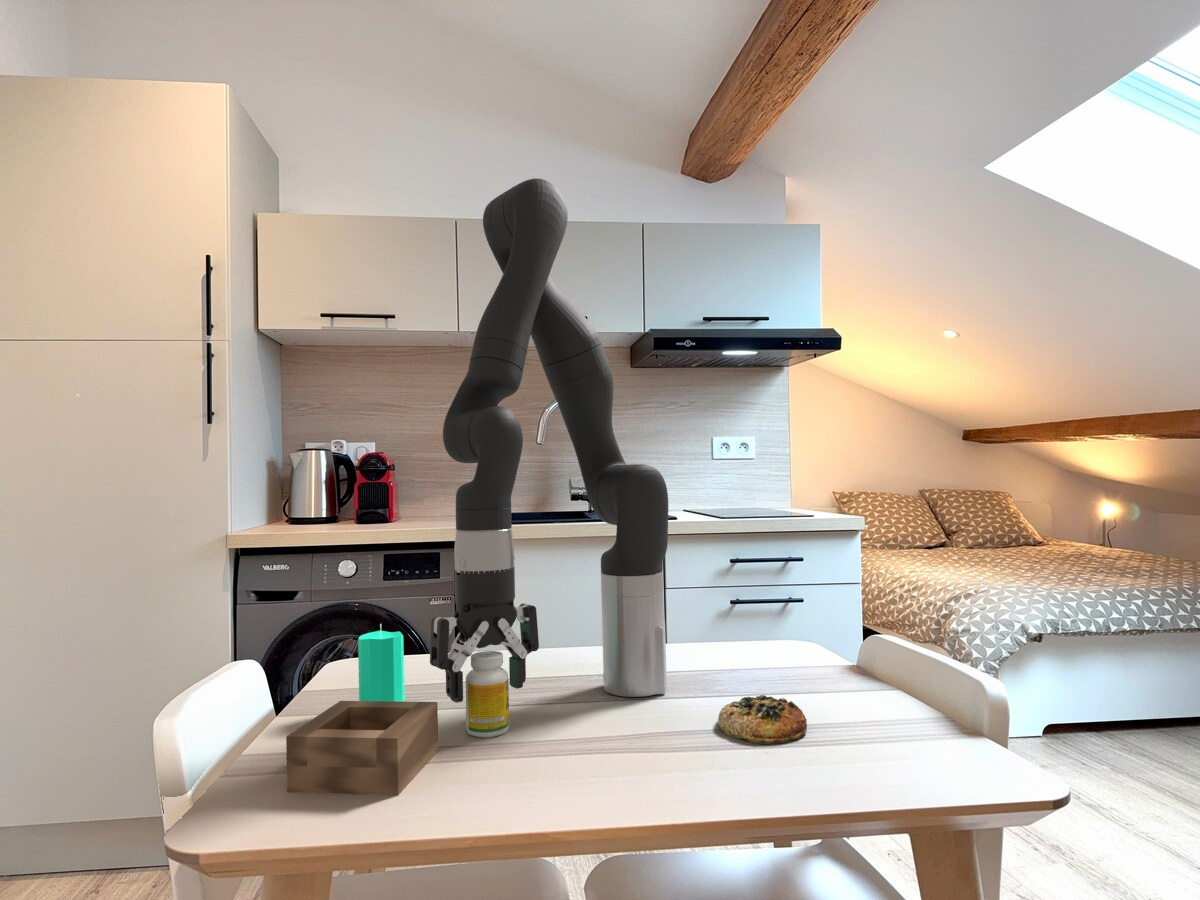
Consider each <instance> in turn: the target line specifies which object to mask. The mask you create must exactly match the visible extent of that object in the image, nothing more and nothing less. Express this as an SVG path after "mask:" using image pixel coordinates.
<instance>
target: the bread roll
mask: <svg viewBox="0 0 1200 900" xmlns="http://www.w3.org/2000/svg"><path fill="white" fill-rule="evenodd" d="M717 722H718V725H719V727H720V729H721V731H723V733H724V734H725V735H727V736H730V737H732V738H735V739H740V740H746V741H748V742H751V743H755V744H763V745H774V744H783V743H788V742H790V741H793V740H797V739H798V740H800V738H802V737H803V736H804V735H805V734H806V732H807V731H808V730H807V729H808V724H807V723H808V722H807V718H806V716H805V714H804V713H803V710H802V709H800V708H799V706H798V705H796V704H795V703H794V702H793V701H792V700H791V701H787V699H786V698H785V697H780V698H778V699H777V698H775V697H772V696H766V695H764V694H761V695H759V696H756V697H754V696H752V697H751V696H744V697H742V698H740V699H739V700H738V701H736V700H735V701H732V702H731V703H727V704H725V705H724V706H723V707H722V708H721V710H720V711H719V713H718V719H717Z"/></svg>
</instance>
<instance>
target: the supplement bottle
mask: <svg viewBox="0 0 1200 900" xmlns="http://www.w3.org/2000/svg"><path fill="white" fill-rule="evenodd" d="M503 657H504V654H503V652H501V651H496V650H484V651H478V652H474V653H472V654H471V655H470V667H471V670H470V671H468V673H467V674H466V675H465V726H466V727H465V729H466V732H467V734H468V735H470V736H472V737H476V738H480V739H481V738H482V739H487V738H495V737H499V736H501V735H504V734H505V733H507V732H508V730H509V729H510V699H509V698H510V697H509V696H510V694H509V689H510V688H509V686H510V681H509V672H507V670H506V669H504V668H502V666H503V663H504V658H503Z"/></svg>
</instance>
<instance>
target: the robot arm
mask: <svg viewBox="0 0 1200 900" xmlns="http://www.w3.org/2000/svg"><path fill="white" fill-rule="evenodd" d="M568 214H569V213H568V208H567V203H566V201H565V199H564V196H563V194H561V191H560V190H559V189H558V188H557V187H556V186H555V185H554V184H553V183H551V182H550V181H548V180H546V179H542V178H531V179H526V180H524V181H522V182H520V183H518V184H516V185H514V186H512V187H511V188H509V189H508V190H506V191H504V192H502V193H501V194H499V195H498V196H496V197H495V198H493V199H492V200H490V202H488V203H487V205H486V207H485V208H484V212H483V215H482V216H483V217H482V226H483V231H484V234H485V235H484V236H485V239H486V241H487V244H488V246H489V248H490V250H491V252H492V254H493V257H494V258H495V261H496V262H497V264H498V266H499V268H500V271H501V273H502V276H501V278H500V281H499V282H498V285H497V287H496V289H495V290H494V291H493V292H494V293H493V294H492V296H491V297H490V300H489V302H488V304H487V306H486V307H485V310H484V311H483V313H482V316H481V318H480V321H479V324H478V326H477V329H476V333H475V337H474V340H473V341H474V342H473V345H472V349H471V354H470V357H469V362H468V369H467V373H466V375H465V377H464V378H463V380H462V382H461V384H460V386H459V387H458V390H457V392H456V394H455V396H454V398H453V400H452V402H451V404H450V405H449V408H448V411H447V412H446V414H445V419H444V423H443V428H442V441H443V445H444V448H445V450H446V453H447V454H448V456H449V457H450V458H451V459H453V460H454V461H455V462H457V463H462V464H476V465H477V466H476V469H475V473H474V476H473V479H472V480H471V481H469V482H466V483H463V484H462V485H460V486H459V487H458V489H457V490H456V494H455V539H454V550H453V551H454V553H453V556H454V601H455V606H456V608H455V614H454V615H453V616H450V617H442V616H433V618H431V624H430V627H431V628H430V645H429V646H430V648H429V649H430V650H429V664H430V666H432V667H436V668H438V669H439V670H441V671H442V670H444V671H445V692H446V696H447V697H449V698H450V700H451V701H453V702H454V703H462V702H463V701H464V678H463V677H464V675H463V674H464V671H462V670H461V669H462V668H463V666H464V665H465V662H466V661H467V659H468V658H469V657H471V655H472V654H474V653H473V652H474V651H475V649H476V648H477V649H482V648H483V649H484V648H486V647H489V646H499V645H502V646H504V648H505V649H506V651H508V653H509V654H510V655H511V656H509V657H508V665H509V666H508V668H509V671H508V677H509V686H510V687H511V688H513V689H516V690H518V689H522V688H523V687H524V683H525V682H526V679H527V676H526V675H527V674H526V673H527V672H526V671H527V668H526V667H527V665H526V663H527V661H526V659H527V657H528V655H529V654H530V653H532V652H537V651H538V650H539V648H540V641H539V627H538V614H537V613H538V612H537V607H536V606H535V605H533V604H529V603H528V604H527V603H520V604H519V606H517V607H515V603H514V602H515V598H516V579H515V577H516V573H515V570H516V569H515V560H516V559H515V543H514V537H513V528H512V526H513V525H512V522H513V521H512V520H513V519H512V494H513V490H514V486H515V483H516V480H517V479H516V477H517V474H518V470H519V467H520V466H519V464H520V461H521V456H522V451H523V446H524V445H523V444H524V436H523V429H522V426H521V423H520V421H519V419H518V417H517V414H515V413H514V412H513V411H512V410H511V409H510V408H508V407H504V406H500V405H499V404H500V403H501V401H503V400H505V399H506V398H509V397H510V396H513V395H514V394H516V392H517V391H518V390H519V388H520V386H521V382H522V379H523V373H524V369H525V363H526V359H527V352H528V349H529V344H530V343H529V342H530V339H532V341H533V344H534V346H535V349H536V351H537V354H538V358H539V361H540V363H541V366H542V369H543V372H544V373H545V377H546V379H547V381H548V385H549V388H550V389H551V391H552V393H553V396H554V398H555V400H556V403H557V405H558V409H559V410H560V414H561V416H562V420H563V422H564V424H565V427H566V429H567V433H568V435H569V438H570V440H571V442H572V446H573V449H574V451H575V455H576V457H577V461H578V465H579V466H578V467H579V470H580V473H581V478H582V481H583V483H584V488H585V492H586V495H587V498H588V501H589V505H590V506H591V508H592V510H593V512H594V514H595V515H596V516H597V518H599V519H600V520H601V521H602V522H604V523H606V524H608V525H613V526H616V532H615V533H616V536H615V541H614V544H613V546H611V547H610V548H609V549H608V550H606V551H604V552H603V553H602V554H601V557H600V585H601V587H600V588H601V590H600V592H601V626H602V627H601V628H602V629H601V630H602V632H601V634H602V664H603V665H602V669H603V672H602V678H603V690H604V691H605V692H607V693H608V694H611V695H614V696H619V697H629V698H631V697H632V698H633V697H635V698H639V697H641V698H642V697H648V696H653V695H655V696H656V695H665V694H666V689H667V683H668V682H667V645H666V619H665V609H664V606H665V604H664V576H663V575H664V573H663V571H664V569H663V568H664V567H663V565H664V564H663V563H664V558H665V557H666V554H667V551H668V542H669V541H668V540H669V538H668V536H669V535H668V534H669V493H668V488H667V483H666V481H665V478H664V476H663V475H662V474H661V472H660V471H659V470H658V469H657V468H656V467H654V466H652V465H650V464H649V465H648V464H643V463H642V464H641V463H639V464H638V463H637V464H635V463H634V464H627V463H626V461H625V459H624V457H623V455H622V452H621V450H620V447H619V444H618V442H617V438H616V436H615V432H614V427H613V405H614V376H613V371H612V368H611V365H610V361H609V359H608V357H607V354H606V352H605V349H604V345H603V344H602V341H601V337H600V335H599V334H598V331H597V330H596V329H595V326H593V325H592V324H591V322H590V321H589V320H588V319H587V318H586V316H585V315H584V314H583V313H582V312H580V311H579V309H578V308H576V306H575V305H574V304H572V302H571V301H570V300H568V299H567V297H565V295H564V294H563V293H562V292H561V291H560V289H559V288H558V286H557V285H556V284H555V282H554V279H553V278H552V274H551V271H552V268H553V265H554V262H555V260H556V258H557V255H558V251H559V250H560V247H561V244H562V242H563V239H564V237H565V236H564V235H565V233H566V231H567V225H568V218H569V217H568ZM530 337H531V338H530ZM516 620H517V621H518V623H519V629H520V638H519V636H518V635H517V634H516V633H515V631H514V629H512V628H513V625H514V623H516ZM454 628H455V629H456V631H457V632H458V634H457V636H455V638H454V640H453V642H452V644H451V646H450V647H451V649H450V650H449V641H450V639H449V637H450V635H451V634H453V633H452V632H453V629H454Z"/></svg>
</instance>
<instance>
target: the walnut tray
mask: <svg viewBox="0 0 1200 900" xmlns="http://www.w3.org/2000/svg"><path fill="white" fill-rule="evenodd" d="M438 706H439V705H438V701H404V702H400V701H359V700H339V701H337V703H335V704H333V705H332V706H330V707H329V708H327V709H326V710H324V711H323V712H321V713H320V714H318V715H316V716H315V717H314V718H312V719H311V720H309V721H307V722H306V723H305V724H303V725H302V726H299V727H298V728H297V729H295V730H293V731H292V732H291V733H289V734H287V735H286V737H285V738H286V739H285V741H286V746H285V747H286V792H287V793H301V794H304V793H305V794H332V795H333V794H334V795H335V794H336V795H337V794H339V795H341V794H342V795H367V796H369V795H370V794H371V796H399V795H400V794H401V793H402V792H403V791H404V790H406V788H407V786H408V785H409V784H411V782H413V780H414V779H415V778H416V776H418V775H419V774H420V772H421V771H422V770H423V769H424V768H425V767H426V766H425V765H428V763H429V762H430V761H431V760H432V759H433V758H434V757H435V756H436V755H435V754H437V753H439V721H438V720H439V719H438V717H439V714H438V711H439V710H438ZM368 794H369V795H368ZM375 794H376V795H375ZM377 794H378V795H377ZM382 794H383V795H382Z"/></svg>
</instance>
